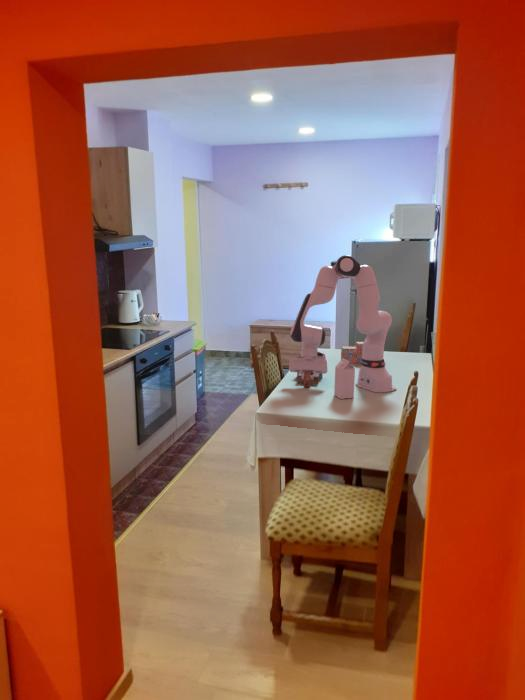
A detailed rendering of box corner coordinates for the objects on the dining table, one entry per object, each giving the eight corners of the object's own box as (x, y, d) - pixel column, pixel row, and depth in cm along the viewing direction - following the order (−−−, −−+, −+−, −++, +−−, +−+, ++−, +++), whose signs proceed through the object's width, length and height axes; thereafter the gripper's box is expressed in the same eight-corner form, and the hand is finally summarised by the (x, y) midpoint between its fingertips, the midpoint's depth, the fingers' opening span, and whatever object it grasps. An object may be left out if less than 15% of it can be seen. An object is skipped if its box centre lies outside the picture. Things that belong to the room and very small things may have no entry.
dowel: (311, 387, 299) (311, 372, 297) (305, 388, 298) (306, 373, 296) (308, 385, 302) (309, 371, 300) (303, 386, 301) (303, 371, 299)
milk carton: (346, 394, 288) (348, 357, 284) (353, 398, 282) (355, 360, 278) (334, 395, 286) (335, 358, 282) (341, 399, 279) (342, 361, 275)
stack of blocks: (342, 363, 352) (343, 343, 349) (340, 360, 358) (341, 341, 355) (376, 363, 353) (377, 343, 350) (374, 360, 359) (375, 341, 356)
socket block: (299, 378, 318) (299, 370, 317) (319, 379, 316) (319, 371, 315) (297, 383, 307) (297, 375, 306) (318, 384, 306) (318, 376, 305)
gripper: (289, 352, 305) (287, 375, 297) (328, 354, 302) (326, 376, 294) (290, 358, 310) (287, 381, 303) (328, 360, 307) (326, 382, 300)
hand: (307, 379), depth 298 cm, fingers closed on dowel, 3 cm apart
